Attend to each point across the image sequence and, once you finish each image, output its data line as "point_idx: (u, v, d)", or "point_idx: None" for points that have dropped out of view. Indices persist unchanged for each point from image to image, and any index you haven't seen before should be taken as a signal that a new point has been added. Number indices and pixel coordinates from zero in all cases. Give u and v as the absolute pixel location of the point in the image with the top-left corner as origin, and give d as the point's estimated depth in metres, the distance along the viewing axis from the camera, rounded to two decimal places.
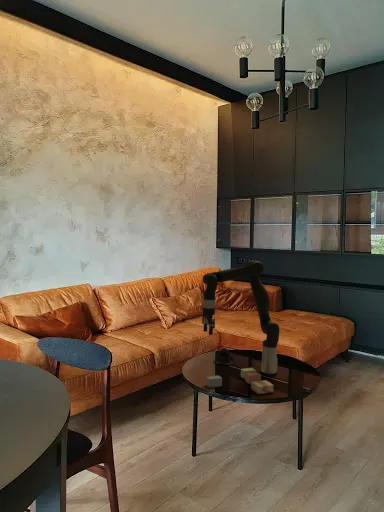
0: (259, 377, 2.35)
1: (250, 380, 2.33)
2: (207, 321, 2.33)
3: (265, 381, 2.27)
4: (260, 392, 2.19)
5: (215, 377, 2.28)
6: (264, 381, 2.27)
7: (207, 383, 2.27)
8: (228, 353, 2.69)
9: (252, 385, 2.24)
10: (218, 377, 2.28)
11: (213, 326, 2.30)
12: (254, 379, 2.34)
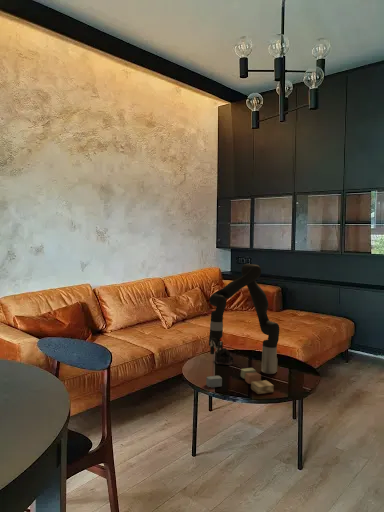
0: (259, 377, 2.35)
1: (250, 380, 2.33)
2: (214, 344, 2.24)
3: (265, 381, 2.27)
4: (260, 392, 2.19)
5: (215, 377, 2.28)
6: (264, 381, 2.27)
7: (207, 383, 2.27)
8: (228, 353, 2.69)
9: (252, 385, 2.24)
10: (218, 377, 2.28)
11: (221, 349, 2.21)
12: (254, 379, 2.34)
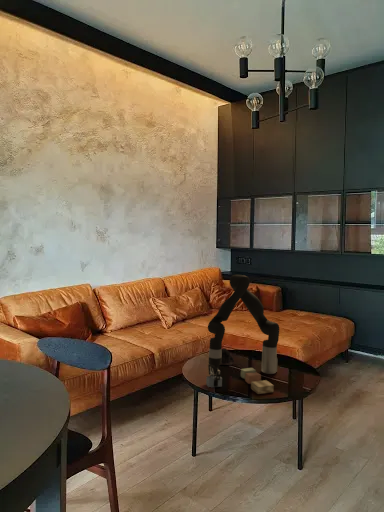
0: (259, 377, 2.35)
1: (250, 380, 2.33)
2: (213, 372, 2.25)
3: (265, 381, 2.27)
4: (260, 392, 2.19)
5: None
6: (264, 381, 2.27)
7: (207, 383, 2.27)
8: (228, 353, 2.69)
9: (252, 385, 2.24)
10: None
11: (218, 378, 2.23)
12: (254, 379, 2.34)
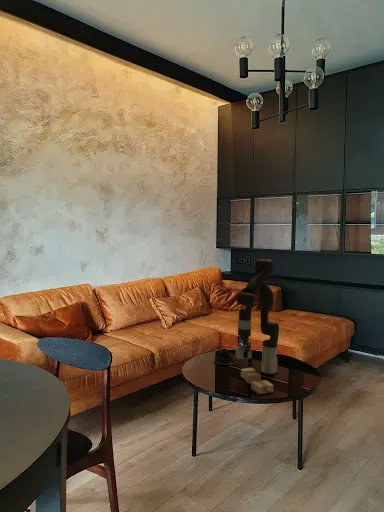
0: (259, 377, 2.35)
1: (249, 380, 2.33)
2: (243, 343, 2.22)
3: (265, 381, 2.27)
4: (260, 392, 2.19)
5: None
6: (264, 381, 2.27)
7: (236, 354, 2.24)
8: (228, 353, 2.68)
9: (252, 385, 2.24)
10: None
11: (248, 349, 2.20)
12: (254, 379, 2.34)
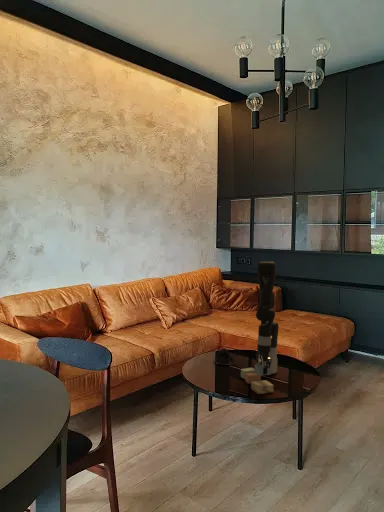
0: (259, 377, 2.35)
1: (249, 380, 2.34)
2: (262, 359, 2.20)
3: (265, 381, 2.27)
4: (260, 392, 2.19)
5: None
6: (264, 381, 2.27)
7: (256, 371, 2.22)
8: (228, 353, 2.68)
9: (252, 385, 2.24)
10: None
11: (268, 365, 2.18)
12: (254, 379, 2.34)
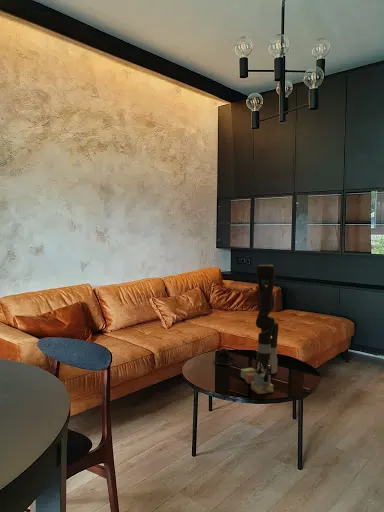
0: None
1: (249, 380, 2.34)
2: (262, 367, 2.20)
3: None
4: (260, 392, 2.19)
5: (263, 374, 2.23)
6: None
7: (255, 381, 2.23)
8: (228, 354, 2.68)
9: (252, 385, 2.24)
10: None
11: (269, 373, 2.18)
12: (253, 379, 2.34)
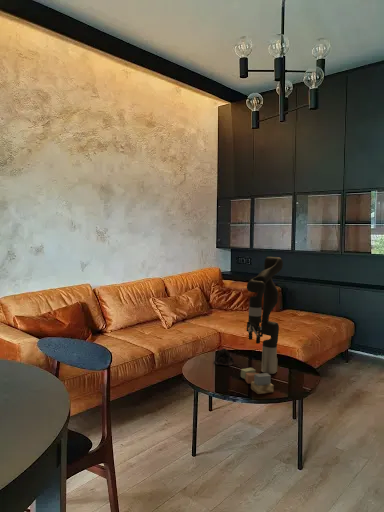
0: None
1: (249, 380, 2.34)
2: (254, 329, 2.27)
3: None
4: (260, 392, 2.19)
5: (263, 374, 2.23)
6: None
7: (255, 381, 2.23)
8: (228, 354, 2.68)
9: (252, 385, 2.24)
10: (266, 374, 2.24)
11: (261, 334, 2.24)
12: (253, 379, 2.34)
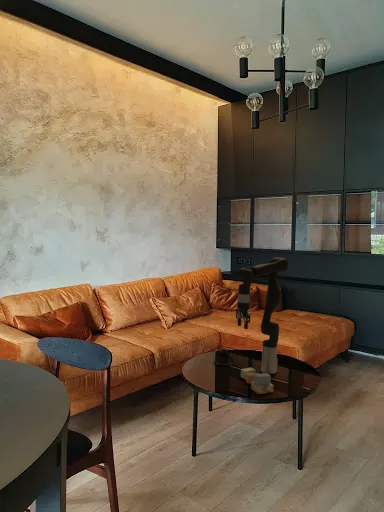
0: None
1: (249, 380, 2.34)
2: (242, 315, 2.36)
3: None
4: (260, 392, 2.19)
5: (263, 374, 2.23)
6: None
7: (255, 381, 2.23)
8: (228, 354, 2.68)
9: (252, 385, 2.24)
10: (266, 374, 2.24)
11: (249, 320, 2.33)
12: (253, 379, 2.34)
